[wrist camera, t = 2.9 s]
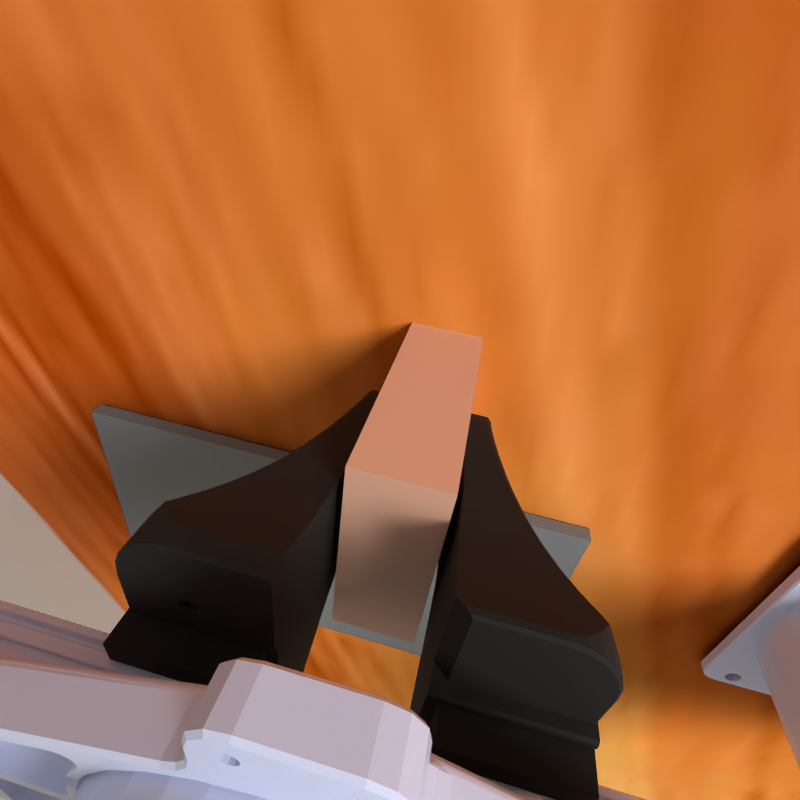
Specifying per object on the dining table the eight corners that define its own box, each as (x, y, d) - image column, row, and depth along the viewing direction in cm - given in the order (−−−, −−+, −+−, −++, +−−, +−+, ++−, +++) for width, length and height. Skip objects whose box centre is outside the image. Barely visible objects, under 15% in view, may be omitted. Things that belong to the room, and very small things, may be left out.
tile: (483, 337, 13) (458, 495, 8) (448, 469, 16) (414, 643, 11) (412, 322, 13) (345, 466, 8) (390, 455, 16) (332, 618, 11)
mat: (589, 529, 16) (590, 540, 16) (510, 670, 22) (509, 681, 21) (101, 404, 18) (91, 411, 17) (148, 565, 24) (142, 574, 23)
